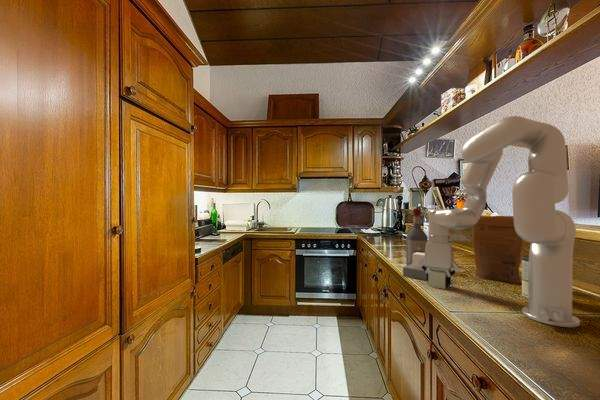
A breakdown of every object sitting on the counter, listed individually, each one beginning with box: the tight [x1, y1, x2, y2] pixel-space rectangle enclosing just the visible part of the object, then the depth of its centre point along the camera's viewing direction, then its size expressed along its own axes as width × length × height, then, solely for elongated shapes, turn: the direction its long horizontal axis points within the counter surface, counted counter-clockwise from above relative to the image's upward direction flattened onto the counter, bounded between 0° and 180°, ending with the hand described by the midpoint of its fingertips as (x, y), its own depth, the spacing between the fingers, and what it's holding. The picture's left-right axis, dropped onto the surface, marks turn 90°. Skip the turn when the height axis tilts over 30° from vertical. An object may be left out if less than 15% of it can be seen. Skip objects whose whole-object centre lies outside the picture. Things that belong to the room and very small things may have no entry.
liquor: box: [405, 208, 428, 266], centre depth 144 cm, size 9×9×30 cm
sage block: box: [427, 268, 447, 290], centre depth 113 cm, size 6×6×6 cm
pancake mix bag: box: [471, 215, 524, 284], centre depth 123 cm, size 7×19×28 cm, turn 50°
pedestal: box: [402, 263, 439, 281], centre depth 128 cm, size 12×12×4 cm
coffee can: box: [520, 254, 529, 299], centre depth 100 cm, size 10×10×14 cm
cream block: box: [412, 252, 427, 269], centre depth 128 cm, size 6×6×6 cm
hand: (438, 284), depth 113 cm, fingers closed on sage block, 6 cm apart
